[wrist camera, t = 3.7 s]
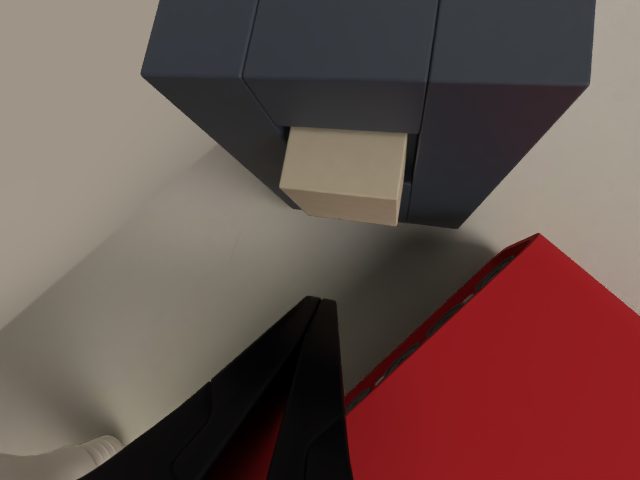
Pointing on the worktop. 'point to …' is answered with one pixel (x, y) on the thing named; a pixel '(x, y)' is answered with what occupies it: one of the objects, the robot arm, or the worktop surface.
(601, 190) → the worktop surface
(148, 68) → the switch plate
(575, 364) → the red device housing
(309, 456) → the robot arm
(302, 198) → the switch rocker
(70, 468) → the lightbulb
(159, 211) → the worktop surface
